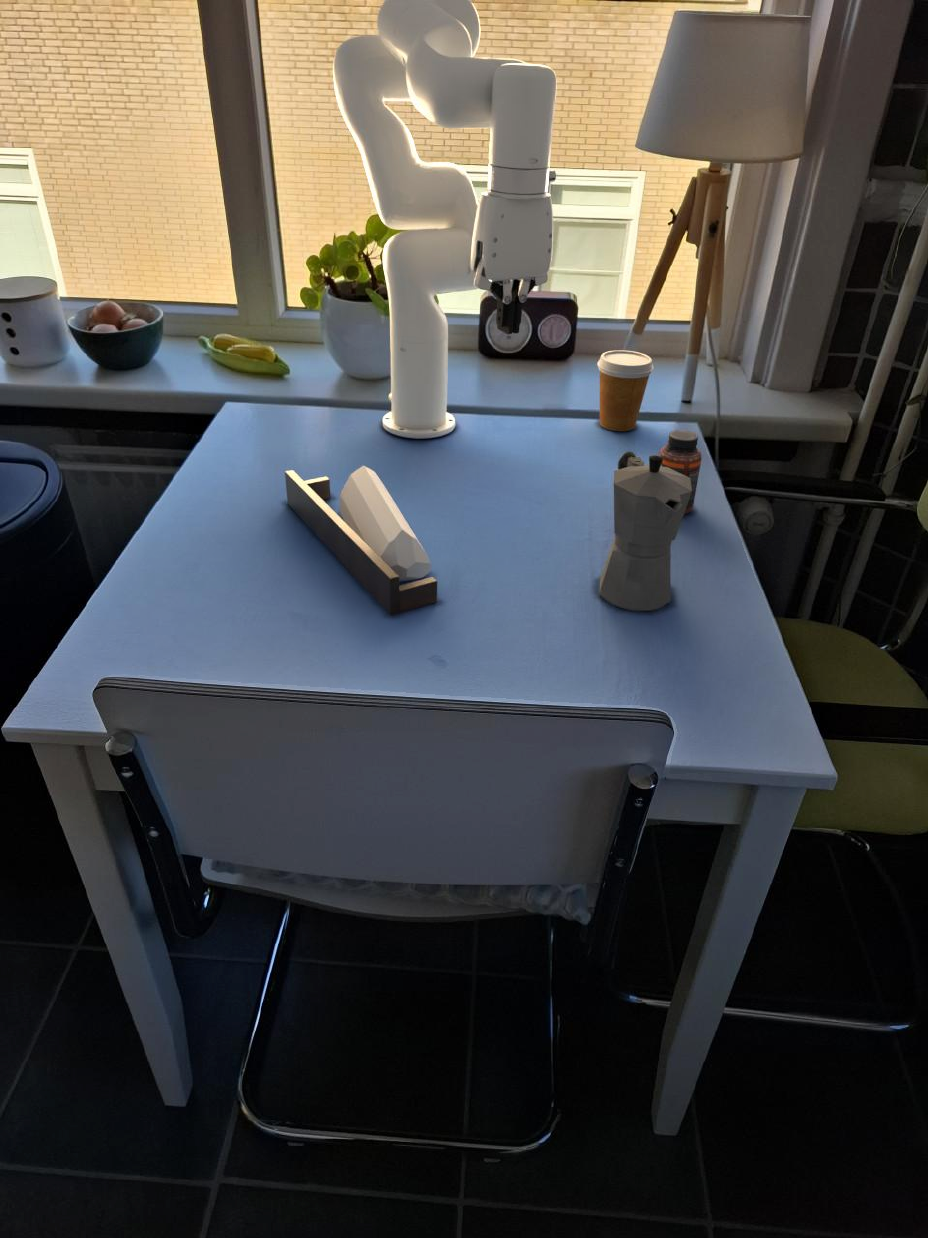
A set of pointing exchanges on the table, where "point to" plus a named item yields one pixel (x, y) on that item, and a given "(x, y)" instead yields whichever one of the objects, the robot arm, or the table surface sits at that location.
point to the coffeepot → (643, 533)
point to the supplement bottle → (683, 458)
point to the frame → (355, 548)
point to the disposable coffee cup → (622, 388)
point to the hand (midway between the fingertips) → (507, 330)
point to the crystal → (382, 525)
